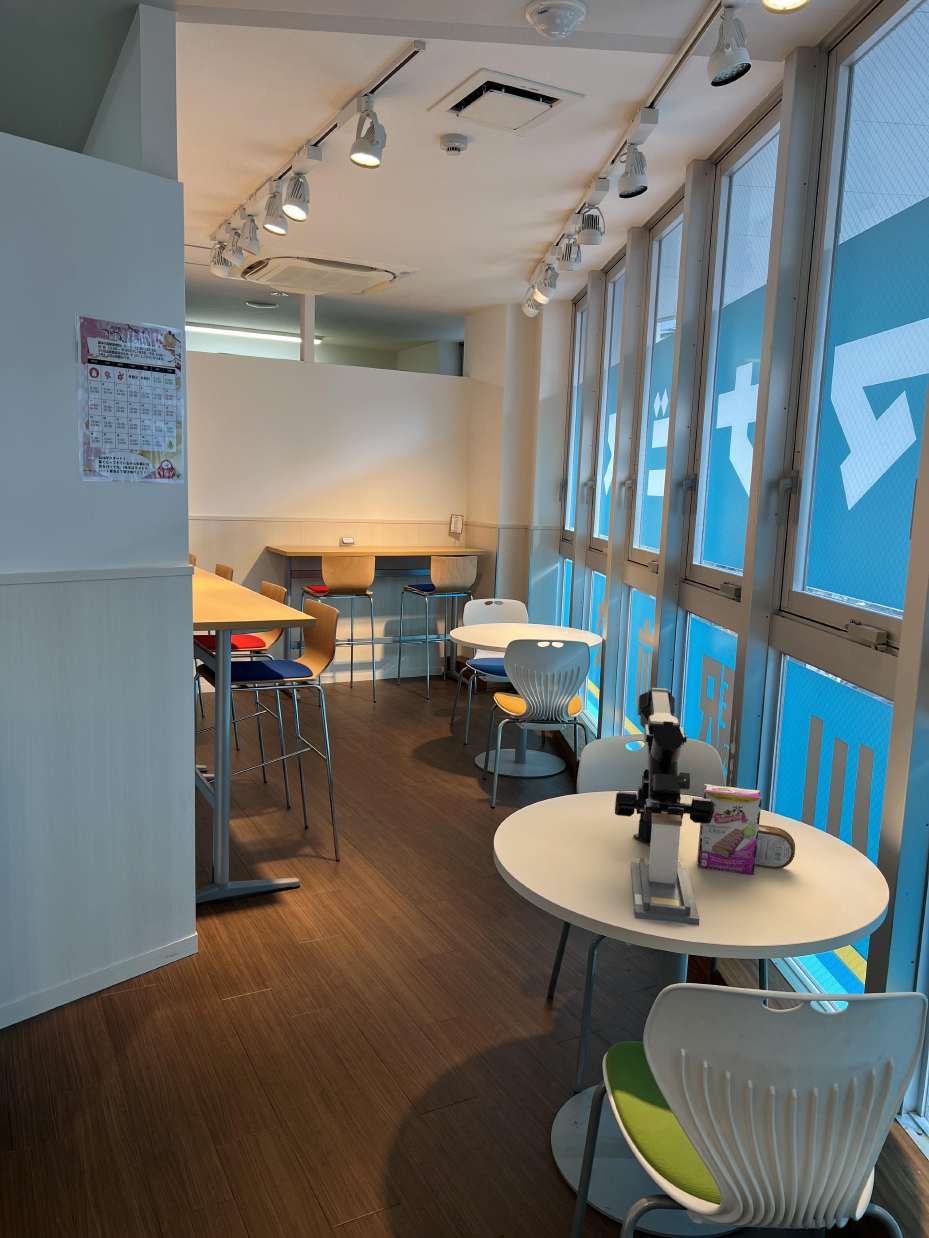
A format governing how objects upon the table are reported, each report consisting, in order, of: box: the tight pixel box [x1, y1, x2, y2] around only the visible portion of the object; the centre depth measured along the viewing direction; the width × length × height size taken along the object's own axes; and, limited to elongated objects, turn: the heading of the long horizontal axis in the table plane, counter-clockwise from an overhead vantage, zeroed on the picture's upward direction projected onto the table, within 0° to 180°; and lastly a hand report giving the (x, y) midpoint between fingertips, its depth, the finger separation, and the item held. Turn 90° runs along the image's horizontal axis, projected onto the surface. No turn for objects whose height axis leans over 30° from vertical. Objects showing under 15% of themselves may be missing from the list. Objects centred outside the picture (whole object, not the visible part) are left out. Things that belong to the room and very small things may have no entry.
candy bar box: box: [696, 783, 763, 876], centre depth 172 cm, size 11×5×16 cm, turn 76°
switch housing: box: [630, 857, 700, 925], centre depth 160 cm, size 22×11×2 cm, turn 171°
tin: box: [755, 824, 796, 870], centre depth 175 cm, size 15×3×8 cm, turn 71°
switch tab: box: [648, 813, 683, 884], centre depth 162 cm, size 3×5×12 cm, turn 81°
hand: (663, 847), depth 164 cm, fingers closed, pressing on switch tab
